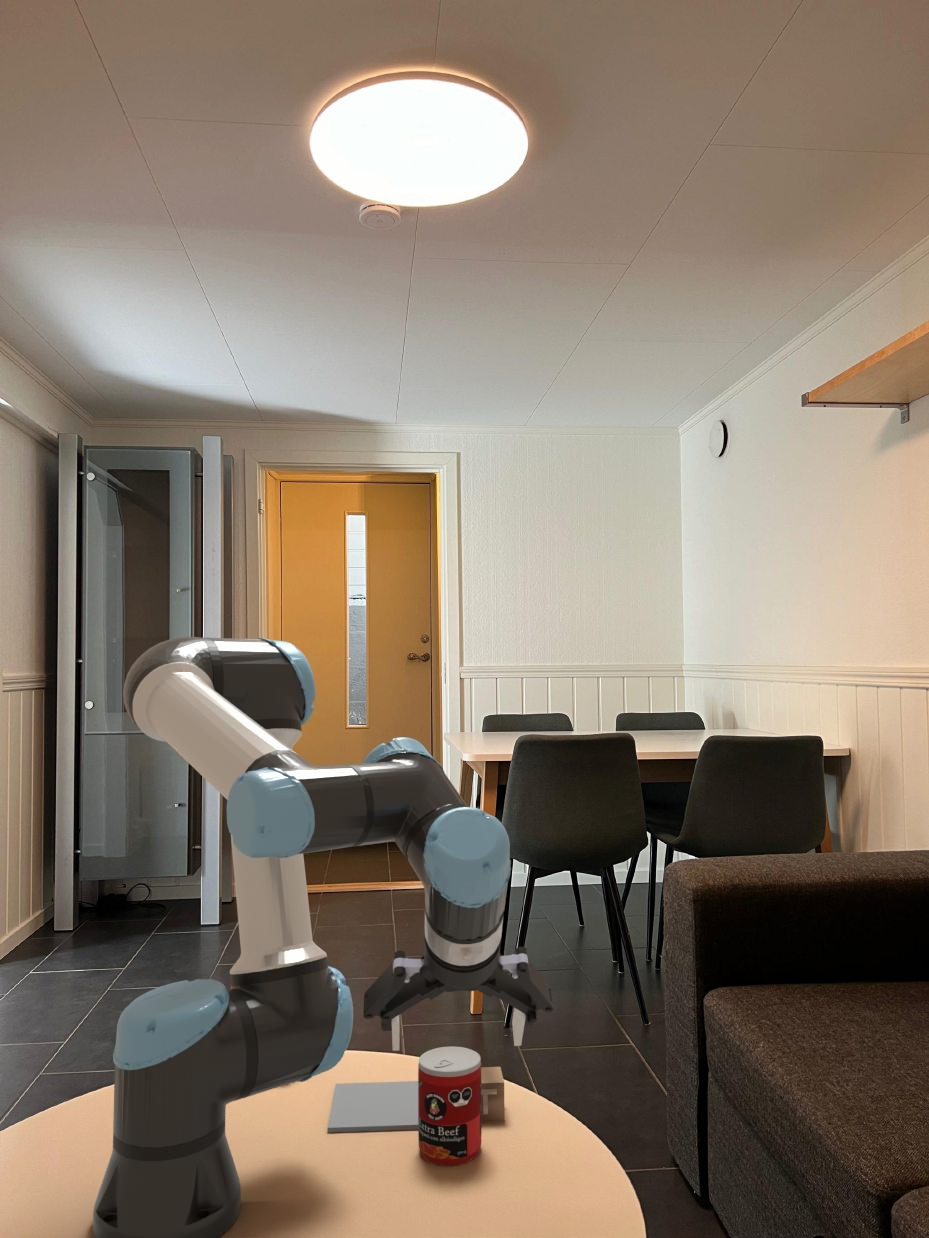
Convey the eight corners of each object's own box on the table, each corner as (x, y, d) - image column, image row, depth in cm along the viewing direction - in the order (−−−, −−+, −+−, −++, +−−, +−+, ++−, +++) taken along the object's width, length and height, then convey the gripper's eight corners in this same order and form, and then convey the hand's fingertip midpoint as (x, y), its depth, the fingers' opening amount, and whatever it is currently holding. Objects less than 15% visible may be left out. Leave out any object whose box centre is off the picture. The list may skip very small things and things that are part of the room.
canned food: (406, 1157, 109) (406, 1064, 110) (438, 1129, 116) (438, 1041, 117) (462, 1173, 105) (461, 1076, 106) (492, 1143, 112) (491, 1052, 113)
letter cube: (466, 1123, 118) (466, 1083, 118) (464, 1105, 123) (464, 1067, 123) (504, 1122, 118) (504, 1082, 118) (500, 1104, 123) (500, 1066, 124)
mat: (327, 1132, 115) (327, 1127, 115) (335, 1087, 128) (335, 1083, 128) (428, 1129, 116) (428, 1124, 116) (426, 1085, 129) (426, 1080, 129)
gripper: (331, 974, 84) (343, 1074, 97) (595, 965, 85) (570, 1065, 99) (336, 903, 90) (346, 1007, 103) (583, 896, 91) (561, 1000, 105)
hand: (456, 1036), depth 101 cm, fingers open, 13 cm apart
